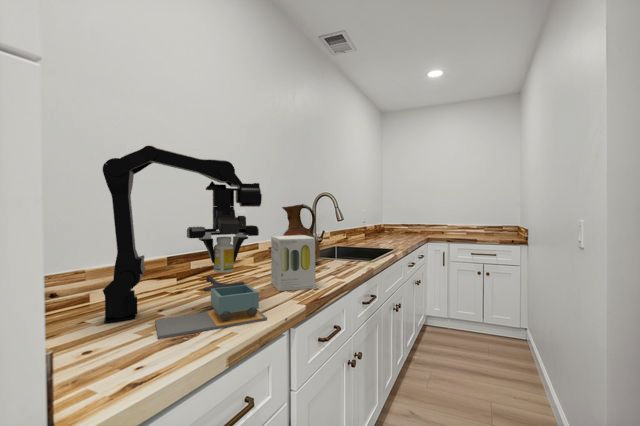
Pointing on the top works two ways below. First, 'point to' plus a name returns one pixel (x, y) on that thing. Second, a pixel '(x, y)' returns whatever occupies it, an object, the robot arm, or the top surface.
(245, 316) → the track
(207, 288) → the bracket
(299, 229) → the ceramic pitcher
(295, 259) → the supplement box
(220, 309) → the box
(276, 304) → the top surface
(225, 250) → the supplement bottle
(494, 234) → the top surface
